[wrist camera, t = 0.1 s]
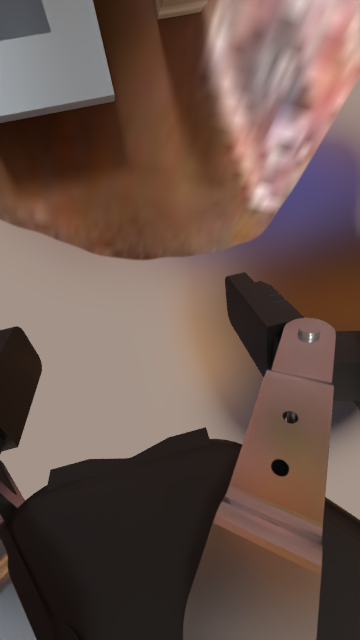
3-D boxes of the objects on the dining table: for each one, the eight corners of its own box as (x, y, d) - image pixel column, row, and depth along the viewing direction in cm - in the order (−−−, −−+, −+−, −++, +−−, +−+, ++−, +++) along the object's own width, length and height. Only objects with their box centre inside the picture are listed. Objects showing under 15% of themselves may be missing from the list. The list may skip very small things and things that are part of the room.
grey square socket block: (-121, -95, 21) (-192, -165, 16) (63, -121, 22) (47, -194, 17) (-18, 126, 29) (-45, 124, 24) (115, 101, 30) (114, 94, 25)
